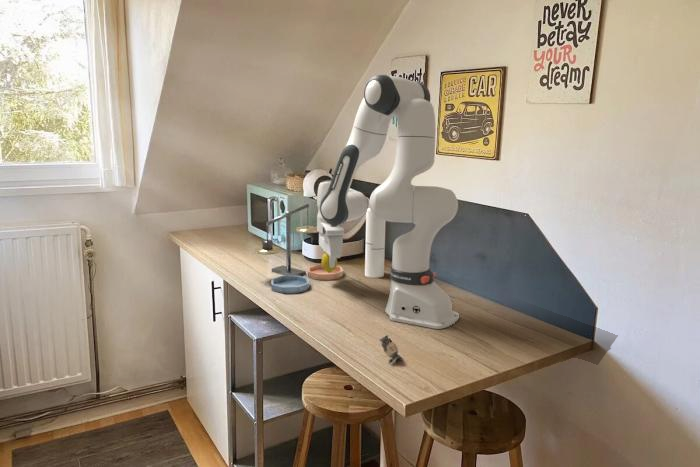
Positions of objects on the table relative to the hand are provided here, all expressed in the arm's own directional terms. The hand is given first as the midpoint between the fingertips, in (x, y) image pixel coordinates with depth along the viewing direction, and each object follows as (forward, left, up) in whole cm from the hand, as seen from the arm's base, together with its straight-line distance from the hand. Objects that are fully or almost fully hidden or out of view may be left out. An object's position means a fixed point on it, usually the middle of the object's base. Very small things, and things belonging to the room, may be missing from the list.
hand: (329, 264), depth 191 cm
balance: (+20, -1, -7) cm, 21 cm away
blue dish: (+8, +11, -7) cm, 16 cm away
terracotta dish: (+8, -8, -7) cm, 13 cm away
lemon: (0, 0, -3) cm, 3 cm away
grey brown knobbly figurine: (-49, +36, -8) cm, 61 cm away
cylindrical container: (-6, -20, -7) cm, 22 cm away
